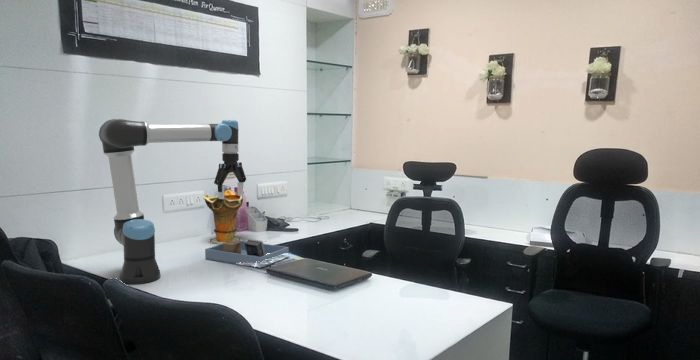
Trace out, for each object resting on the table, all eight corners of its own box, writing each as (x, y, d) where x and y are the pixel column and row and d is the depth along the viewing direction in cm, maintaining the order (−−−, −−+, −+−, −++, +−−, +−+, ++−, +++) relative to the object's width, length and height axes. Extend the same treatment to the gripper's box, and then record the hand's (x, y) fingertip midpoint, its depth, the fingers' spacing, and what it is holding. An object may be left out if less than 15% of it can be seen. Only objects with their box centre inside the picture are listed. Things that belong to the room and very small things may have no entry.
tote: (260, 268, 213) (260, 257, 213) (205, 259, 228) (205, 248, 227) (288, 257, 233) (288, 247, 232) (236, 249, 247) (236, 239, 247)
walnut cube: (232, 256, 230) (232, 244, 230) (223, 255, 233) (223, 243, 232) (241, 254, 236) (241, 242, 235) (231, 252, 238) (231, 240, 238)
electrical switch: (266, 258, 228) (265, 239, 226) (259, 262, 224) (257, 242, 222) (252, 255, 233) (250, 237, 231) (244, 259, 229) (242, 240, 227)
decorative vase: (195, 243, 258) (196, 190, 257) (220, 236, 280) (221, 188, 278) (229, 246, 251) (230, 193, 250) (251, 239, 273) (253, 190, 272)
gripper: (218, 154, 217) (219, 201, 219) (253, 152, 239) (253, 194, 241) (205, 153, 220) (206, 199, 222) (241, 151, 242) (241, 193, 244)
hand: (231, 197), depth 231 cm, fingers open, 13 cm apart
